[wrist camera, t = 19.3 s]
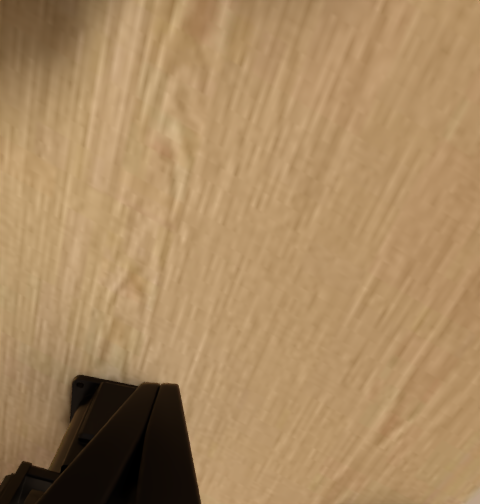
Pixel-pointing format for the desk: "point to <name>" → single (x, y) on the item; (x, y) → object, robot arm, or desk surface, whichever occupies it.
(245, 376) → the desk surface
